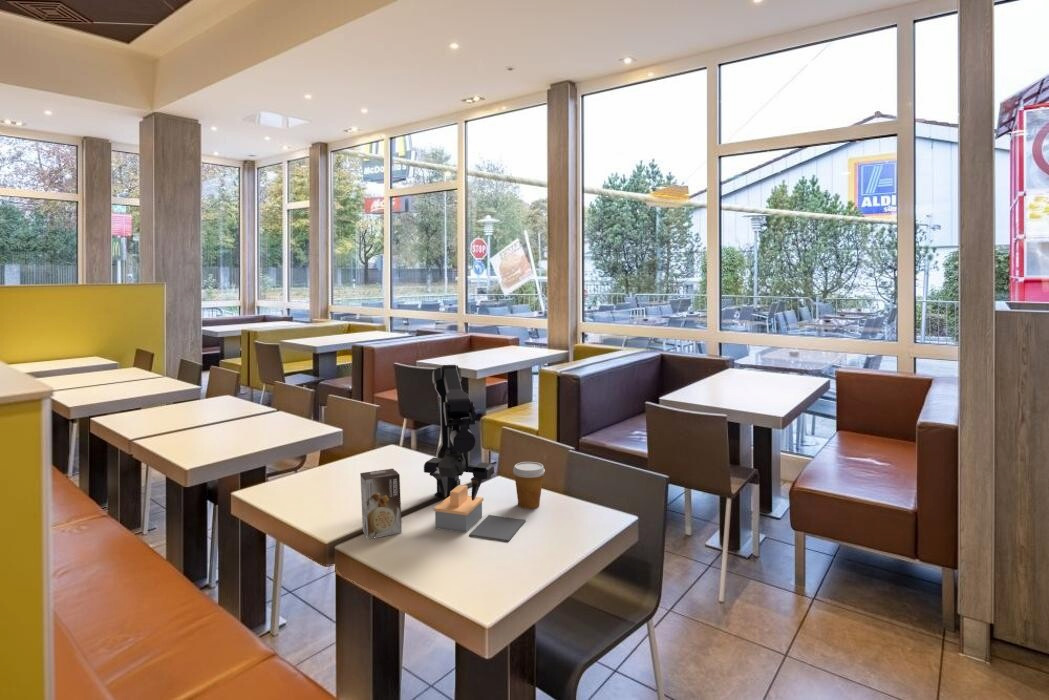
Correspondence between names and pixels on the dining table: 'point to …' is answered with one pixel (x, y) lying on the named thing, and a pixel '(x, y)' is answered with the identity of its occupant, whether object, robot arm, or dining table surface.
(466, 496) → the lid
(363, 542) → the dining table surface
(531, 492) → the disposable coffee cup
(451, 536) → the dining table surface
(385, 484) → the coffee box
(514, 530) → the mat
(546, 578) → the dining table surface
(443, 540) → the dining table surface
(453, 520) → the tub
